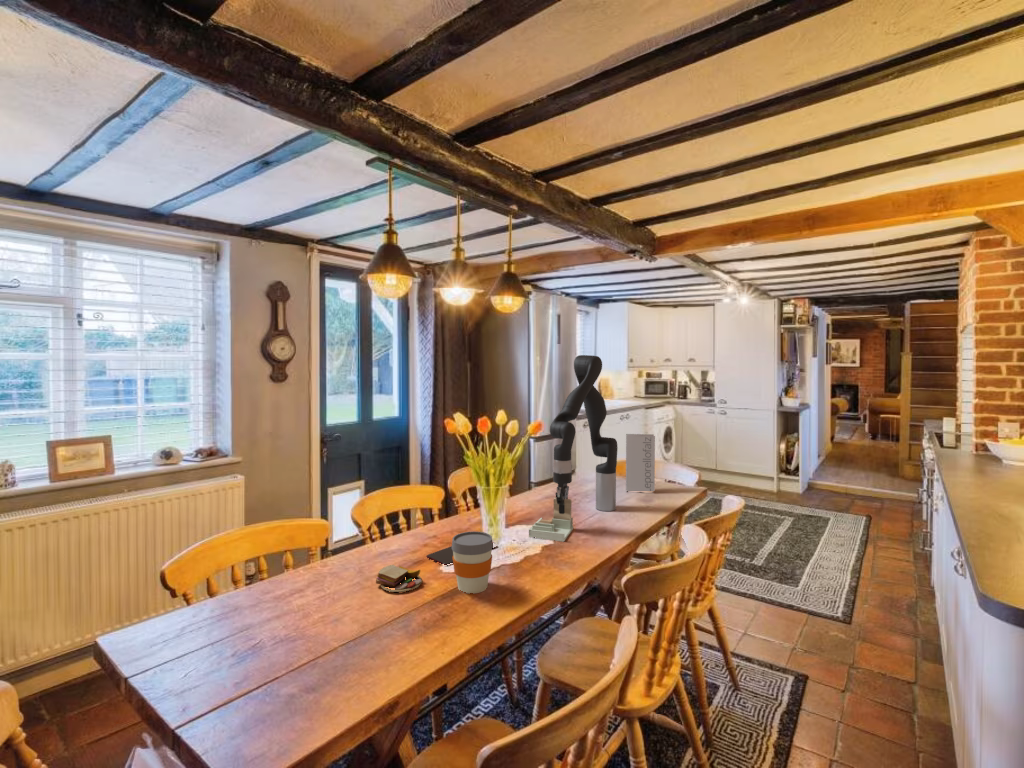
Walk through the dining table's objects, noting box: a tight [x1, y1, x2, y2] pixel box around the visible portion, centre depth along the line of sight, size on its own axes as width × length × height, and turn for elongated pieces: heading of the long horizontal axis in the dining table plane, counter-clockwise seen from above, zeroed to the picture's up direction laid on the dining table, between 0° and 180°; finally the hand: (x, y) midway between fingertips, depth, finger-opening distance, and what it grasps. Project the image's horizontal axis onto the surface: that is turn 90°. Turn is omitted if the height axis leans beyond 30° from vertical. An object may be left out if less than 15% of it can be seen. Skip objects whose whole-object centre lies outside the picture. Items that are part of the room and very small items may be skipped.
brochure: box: [625, 433, 656, 491], centre depth 260 cm, size 14×6×30 cm, turn 81°
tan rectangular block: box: [552, 497, 572, 520], centre depth 202 cm, size 2×7×10 cm, turn 70°
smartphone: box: [425, 545, 453, 565], centre depth 179 cm, size 12×2×25 cm
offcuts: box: [538, 519, 552, 524], centre depth 199 cm, size 5×6×3 cm
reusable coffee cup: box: [451, 530, 494, 594], centre depth 150 cm, size 13×13×15 cm
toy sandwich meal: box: [375, 564, 423, 593], centre depth 153 cm, size 12×14×5 cm
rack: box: [528, 517, 574, 543], centre depth 198 cm, size 16×14×4 cm
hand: (562, 512), depth 202 cm, fingers closed on tan rectangular block, 1 cm apart
